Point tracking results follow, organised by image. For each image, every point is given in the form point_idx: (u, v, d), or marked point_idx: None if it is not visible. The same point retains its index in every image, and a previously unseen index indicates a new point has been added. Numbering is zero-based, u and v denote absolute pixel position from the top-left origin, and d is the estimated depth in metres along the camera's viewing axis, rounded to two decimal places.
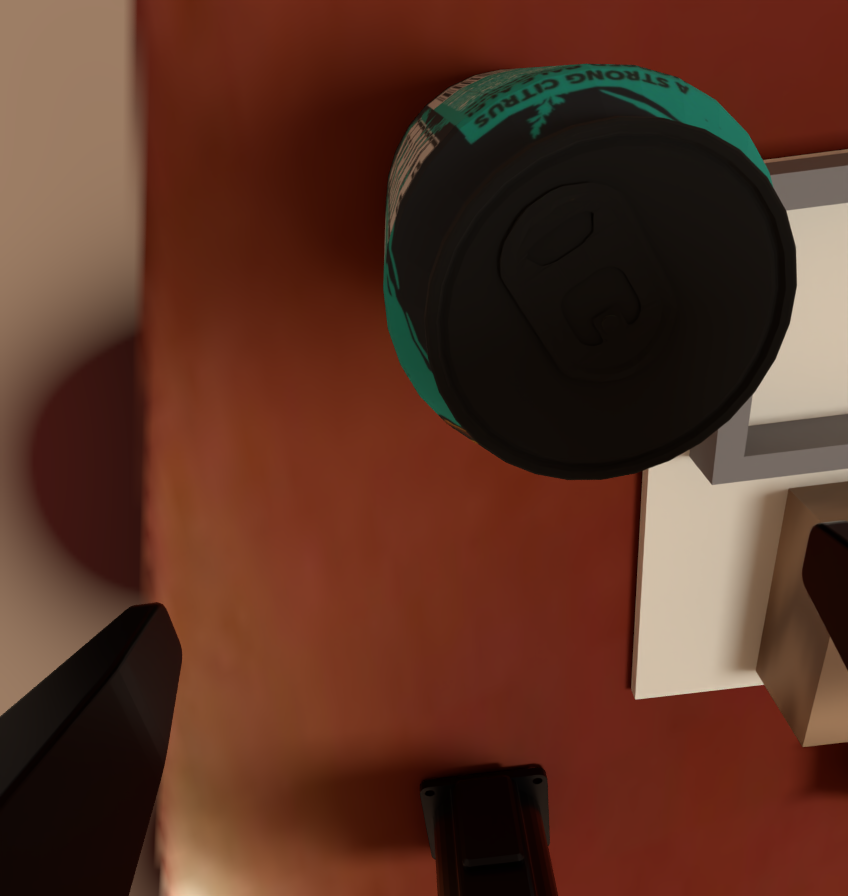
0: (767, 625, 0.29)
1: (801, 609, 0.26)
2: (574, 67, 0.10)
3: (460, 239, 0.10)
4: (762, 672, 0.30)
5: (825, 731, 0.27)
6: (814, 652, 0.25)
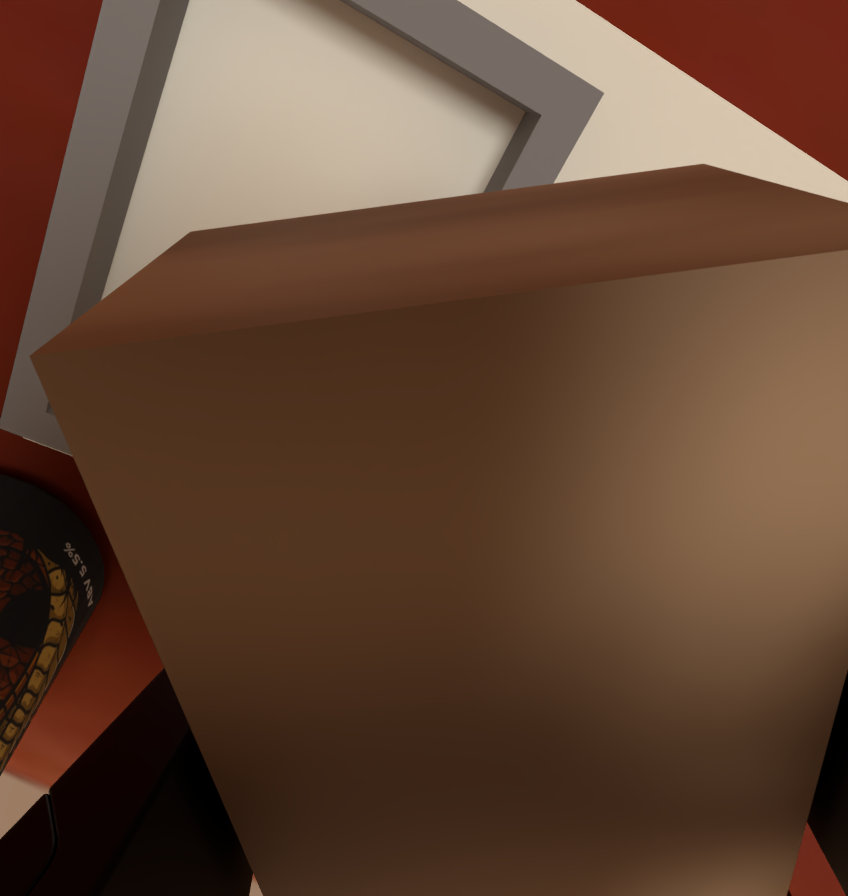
0: None
1: None
2: None
3: None
4: None
5: None
6: None
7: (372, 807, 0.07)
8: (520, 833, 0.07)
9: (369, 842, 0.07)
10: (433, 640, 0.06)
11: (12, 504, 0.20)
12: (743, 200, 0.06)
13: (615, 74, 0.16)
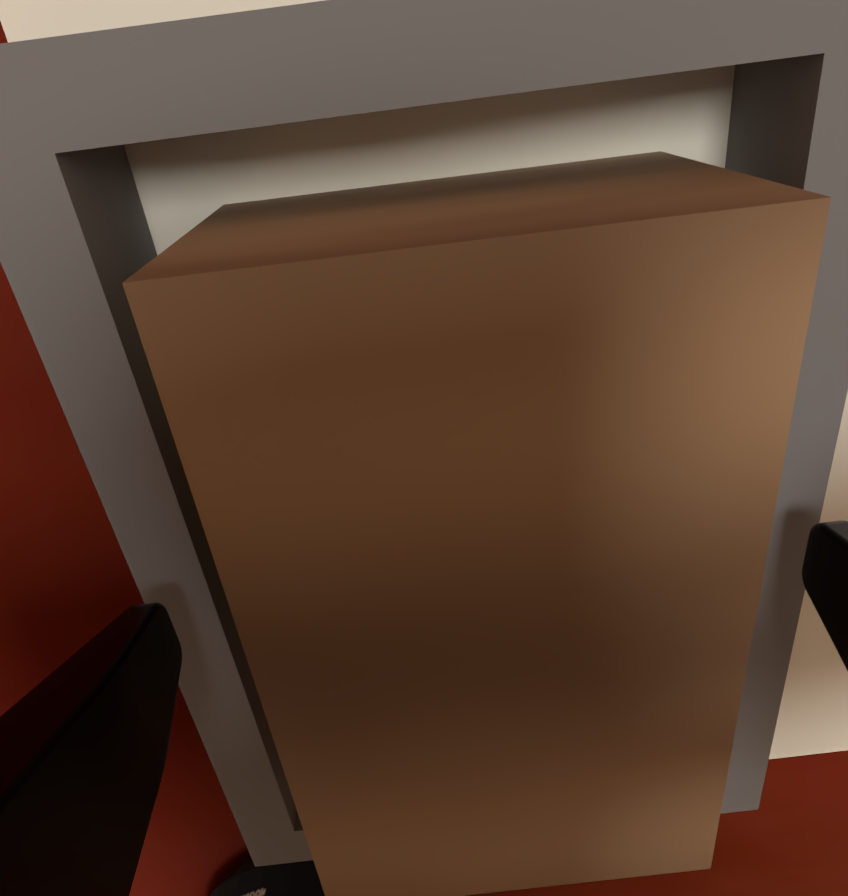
0: None
1: None
2: None
3: None
4: None
5: (371, 877, 0.10)
6: None
7: (375, 682, 0.08)
8: (499, 710, 0.08)
9: (373, 716, 0.08)
10: (428, 529, 0.07)
11: None
12: (681, 177, 0.07)
13: None
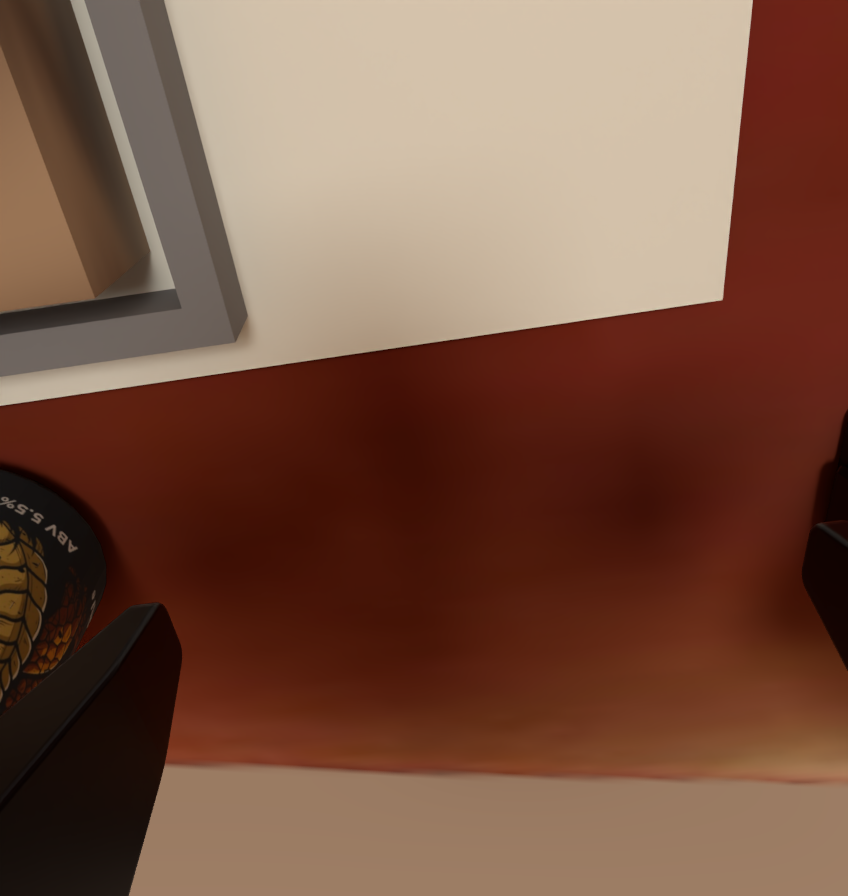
0: None
1: None
2: None
3: None
4: None
5: None
6: None
7: None
8: None
9: None
10: None
11: None
12: None
13: None
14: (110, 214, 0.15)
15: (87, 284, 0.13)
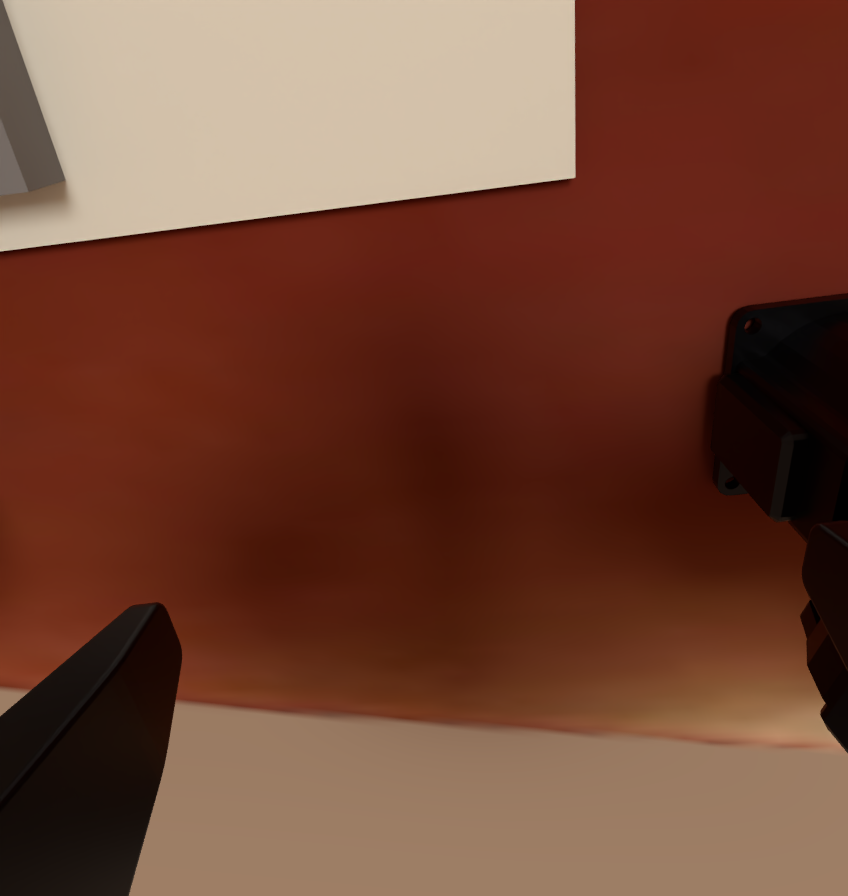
0: None
1: None
2: None
3: None
4: None
5: None
6: None
7: None
8: None
9: None
10: None
11: None
12: None
13: None
14: None
15: None
